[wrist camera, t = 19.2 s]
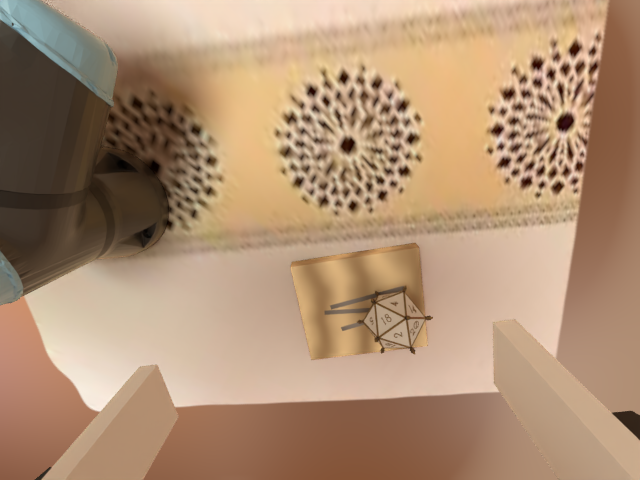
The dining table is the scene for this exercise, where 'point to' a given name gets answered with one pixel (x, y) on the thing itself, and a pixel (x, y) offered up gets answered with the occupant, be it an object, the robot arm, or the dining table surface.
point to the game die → (394, 320)
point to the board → (353, 296)
